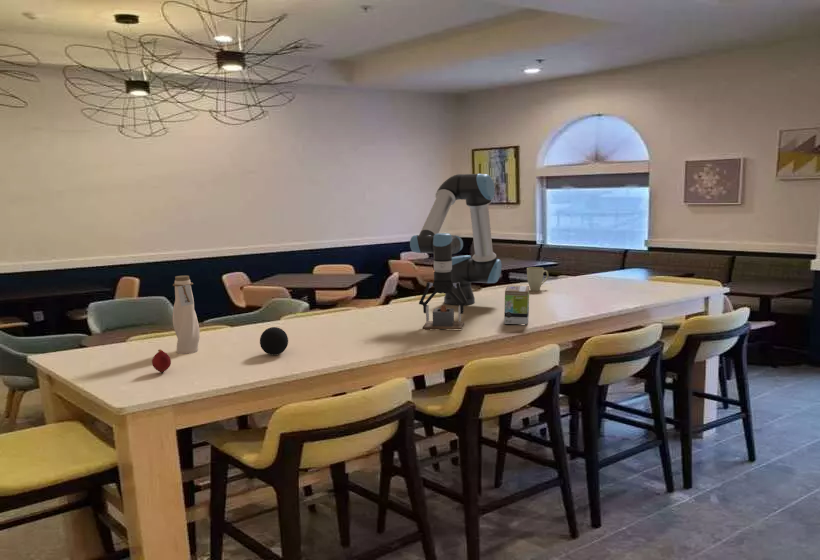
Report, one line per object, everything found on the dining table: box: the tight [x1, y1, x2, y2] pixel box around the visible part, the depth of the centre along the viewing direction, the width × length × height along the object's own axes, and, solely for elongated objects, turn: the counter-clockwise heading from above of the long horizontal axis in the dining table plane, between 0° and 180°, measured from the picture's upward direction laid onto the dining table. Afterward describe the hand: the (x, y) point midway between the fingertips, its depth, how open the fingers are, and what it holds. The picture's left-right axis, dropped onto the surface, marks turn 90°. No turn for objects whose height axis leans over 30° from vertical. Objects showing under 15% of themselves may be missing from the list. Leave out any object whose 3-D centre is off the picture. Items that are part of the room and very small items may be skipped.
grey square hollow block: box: [432, 307, 455, 327], centre depth 282 cm, size 8×8×6 cm
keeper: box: [421, 304, 465, 331], centre depth 282 cm, size 12×16×9 cm
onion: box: [151, 348, 172, 373], centre depth 223 cm, size 6×6×8 cm
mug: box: [526, 266, 549, 292], centre depth 366 cm, size 11×10×12 cm
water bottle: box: [172, 275, 201, 354], centre depth 248 cm, size 10×9×28 cm
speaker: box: [259, 326, 289, 356], centre depth 243 cm, size 10×10×10 cm
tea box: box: [503, 285, 530, 325], centre depth 289 cm, size 15×10×15 cm, turn 168°
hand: (443, 321), depth 282 cm, fingers open, 13 cm apart
